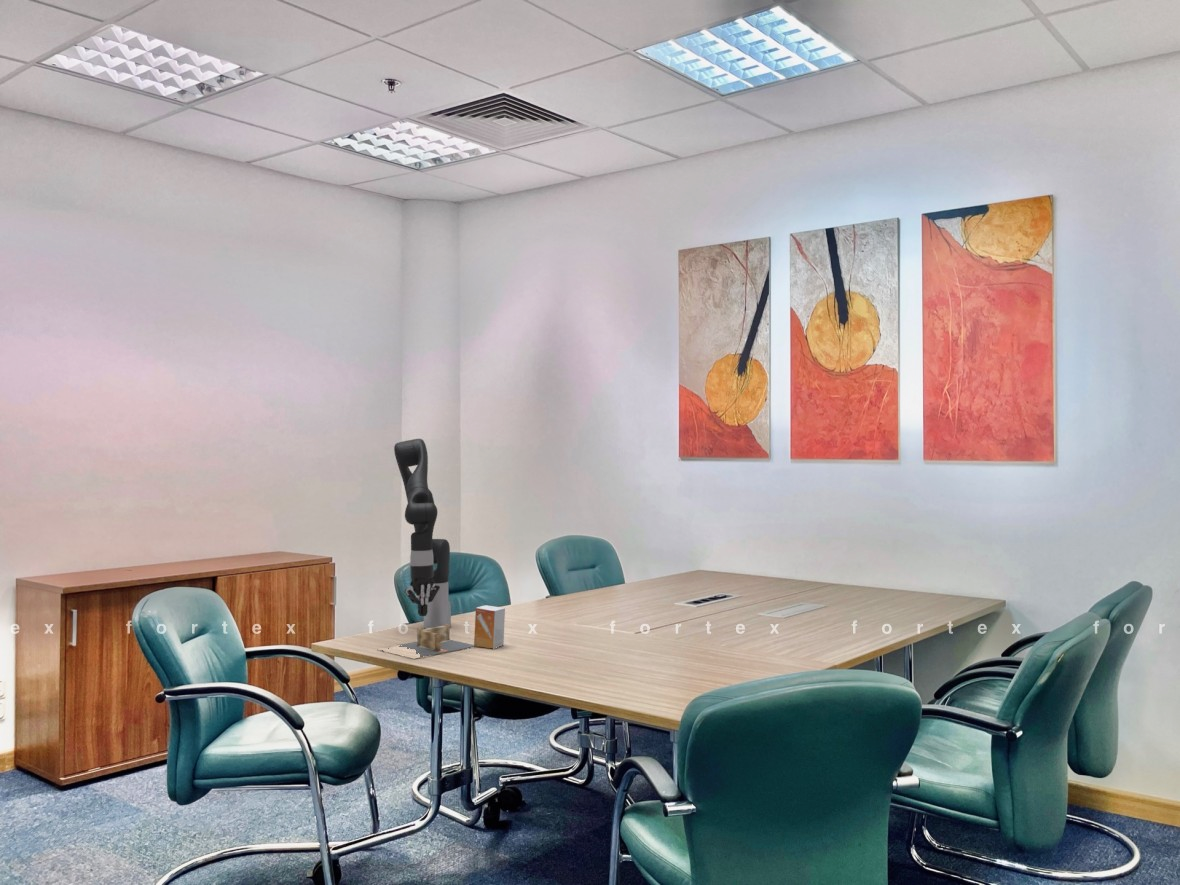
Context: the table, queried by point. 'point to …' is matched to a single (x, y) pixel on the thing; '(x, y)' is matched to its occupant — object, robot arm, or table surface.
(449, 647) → the card
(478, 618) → the small box
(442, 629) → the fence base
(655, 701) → the table surface
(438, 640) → the fence gate
